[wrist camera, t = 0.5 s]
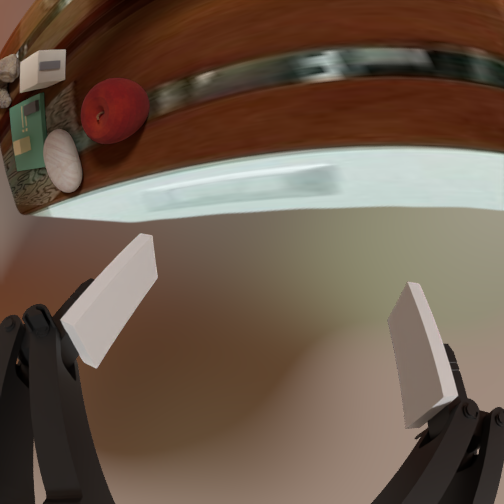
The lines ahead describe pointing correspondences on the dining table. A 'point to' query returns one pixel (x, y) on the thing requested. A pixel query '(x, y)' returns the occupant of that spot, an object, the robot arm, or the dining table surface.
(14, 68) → the seashell
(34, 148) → the board
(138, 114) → the apple
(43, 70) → the plug
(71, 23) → the dining table surface
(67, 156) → the decorative stone
